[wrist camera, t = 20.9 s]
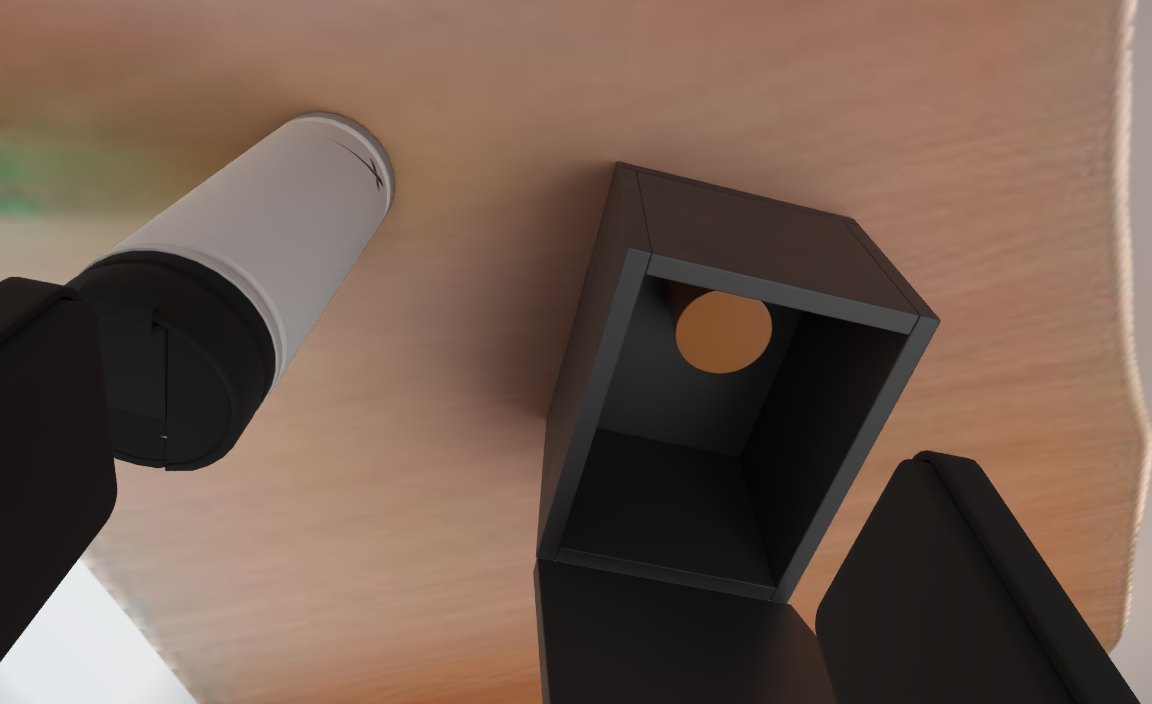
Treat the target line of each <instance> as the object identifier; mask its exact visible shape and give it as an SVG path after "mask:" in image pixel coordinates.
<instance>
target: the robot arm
mask: <svg viewBox="0 0 1152 704" xmlns="http://www.w3.org/2000/svg"><path fill="white" fill-rule="evenodd" d="M116 498H117V481H116V473H115V464H114V456H113V448H112V439H111V431H110V423H109V414H108V406H107V398H106V389H105V381H104V373H103V364H102V356H101V348H100V339H99V331H98V322H97V316H96V312H95V310H94V309H93V307H92V306H91V305H89V304H86V303H82V299H81V297H80V295H79V293H78V292H77V291H76V290H75V289H73V288H72V287H68V286H63V285H58V284H53V283H47V282H42V281H37V280H32V279H26V278H21V277H9V278H7V279H5V280H3V281H1V282H0V662H1V661H2V659H3V658H4V657H5V655H6V654H7V652H8V651H9V650H10V649H11V647H12V646H13V645H14V643H15V642H16V640H17V639H18V638H19V637H20V635H21V634H22V633H23V631H24V630H25V629H26V628H27V626H28V625H29V624H30V622H31V621H32V620H33V618H34V617H35V616H36V614H37V613H38V611H39V610H40V609H41V608H42V606H43V605H44V604H45V602H46V601H47V600H48V599H49V597H50V596H51V595H52V593H53V592H54V591H55V589H56V588H57V587H58V585H59V584H60V583H61V581H62V580H63V579H64V577H65V576H66V575H67V573H68V572H69V571H70V569H71V568H72V567H73V565H74V564H75V563H76V562H77V560H78V559H79V558H80V556H81V555H82V554H83V552H84V551H85V550H86V548H87V547H88V546H89V544H90V543H91V542H92V540H93V539H94V538H95V537H96V535H97V534H98V533H99V531H100V530H101V529H102V527H103V526H104V525H105V523H106V522H107V520H108V519H109V517H110V515H111V513H112V511H113V509H114V506H115V502H116ZM815 628H816V635H817V639H818V643H819V646H820V649H821V652H822V656H823V659H824V662H825V666H826V669H827V672H828V675H829V679H830V682H831V685H832V689H833V692H834V695H835V698H836V702H837V704H1140V702H1139V701H1138V699H1137V698H1136V696H1135V695H1134V693H1133V692H1132V691H1131V689H1130V687H1129V686H1128V684H1127V683H1126V682H1125V680H1124V678H1123V677H1122V676H1121V674H1120V672H1119V671H1118V670H1117V668H1116V667H1115V665H1114V664H1113V662H1112V661H1111V659H1110V658H1109V656H1108V655H1107V653H1106V652H1105V650H1104V649H1103V647H1102V646H1101V644H1100V643H1099V641H1098V640H1097V638H1096V637H1095V635H1094V634H1093V633H1092V631H1091V630H1090V628H1089V627H1088V625H1087V624H1086V622H1085V621H1084V619H1083V618H1082V616H1081V615H1080V613H1079V612H1078V610H1077V609H1076V607H1075V606H1074V604H1073V603H1072V601H1071V600H1070V598H1069V597H1068V596H1067V594H1066V593H1065V591H1064V590H1063V588H1062V587H1061V585H1060V584H1059V582H1058V581H1057V579H1056V578H1055V576H1054V575H1053V573H1052V572H1051V570H1050V569H1049V567H1048V566H1047V564H1046V563H1045V561H1044V560H1043V559H1042V557H1041V556H1040V554H1039V553H1038V551H1037V550H1036V548H1035V547H1034V545H1033V544H1032V542H1031V541H1030V539H1029V538H1028V536H1027V535H1026V533H1025V532H1024V530H1023V529H1022V527H1021V526H1020V524H1019V523H1018V522H1017V520H1016V519H1015V517H1014V516H1013V514H1012V513H1011V511H1010V510H1009V508H1008V507H1007V505H1006V504H1005V502H1004V501H1003V499H1002V498H1001V496H1000V495H999V493H998V492H997V490H996V489H995V487H994V486H993V485H992V483H991V482H990V480H989V479H988V477H987V476H986V474H985V473H984V471H983V470H982V468H981V467H980V466H979V465H978V464H977V463H976V462H975V461H974V460H972V459H969V458H964V457H959V456H954V455H949V454H943V453H938V452H933V451H928V450H926V451H921V452H919V453H918V454H916V455H915V456H914V457H913V459H912V460H911V459H907V460H904V461H902V462H901V463H900V464H899V465H898V467H897V468H896V470H895V471H894V473H893V475H892V477H891V478H890V480H889V482H888V484H887V486H886V487H885V489H884V491H883V493H882V494H881V496H880V498H879V500H878V502H877V503H876V505H875V507H874V509H873V510H872V512H871V514H870V516H869V518H868V519H867V521H866V523H865V525H864V526H863V528H862V530H861V532H860V533H859V535H858V537H857V539H856V541H855V542H854V544H853V546H852V548H851V549H850V551H849V553H848V555H847V557H846V558H845V560H844V562H843V564H842V565H841V567H840V569H839V571H838V573H837V574H836V576H835V578H834V580H833V581H832V583H831V585H830V587H829V588H828V590H827V592H826V594H825V596H824V597H823V599H822V601H821V603H820V605H819V607H818V609H817V614H816V621H815Z"/></svg>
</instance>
